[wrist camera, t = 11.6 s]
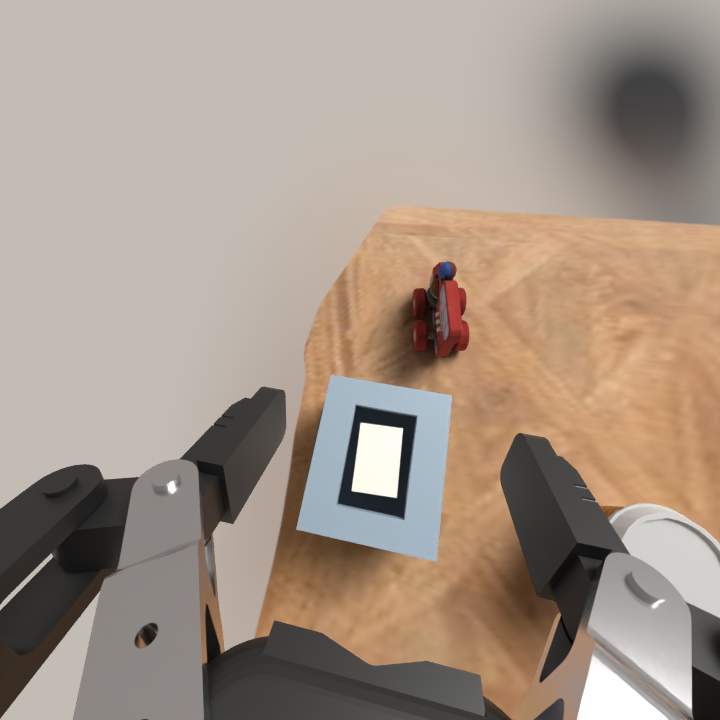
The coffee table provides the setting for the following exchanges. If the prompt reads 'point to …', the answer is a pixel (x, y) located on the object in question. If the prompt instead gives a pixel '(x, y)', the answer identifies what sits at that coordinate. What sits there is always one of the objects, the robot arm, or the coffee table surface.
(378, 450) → the block
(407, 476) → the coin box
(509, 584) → the coffee table surface
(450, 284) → the toy fire truck
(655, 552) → the disposable coffee cup
